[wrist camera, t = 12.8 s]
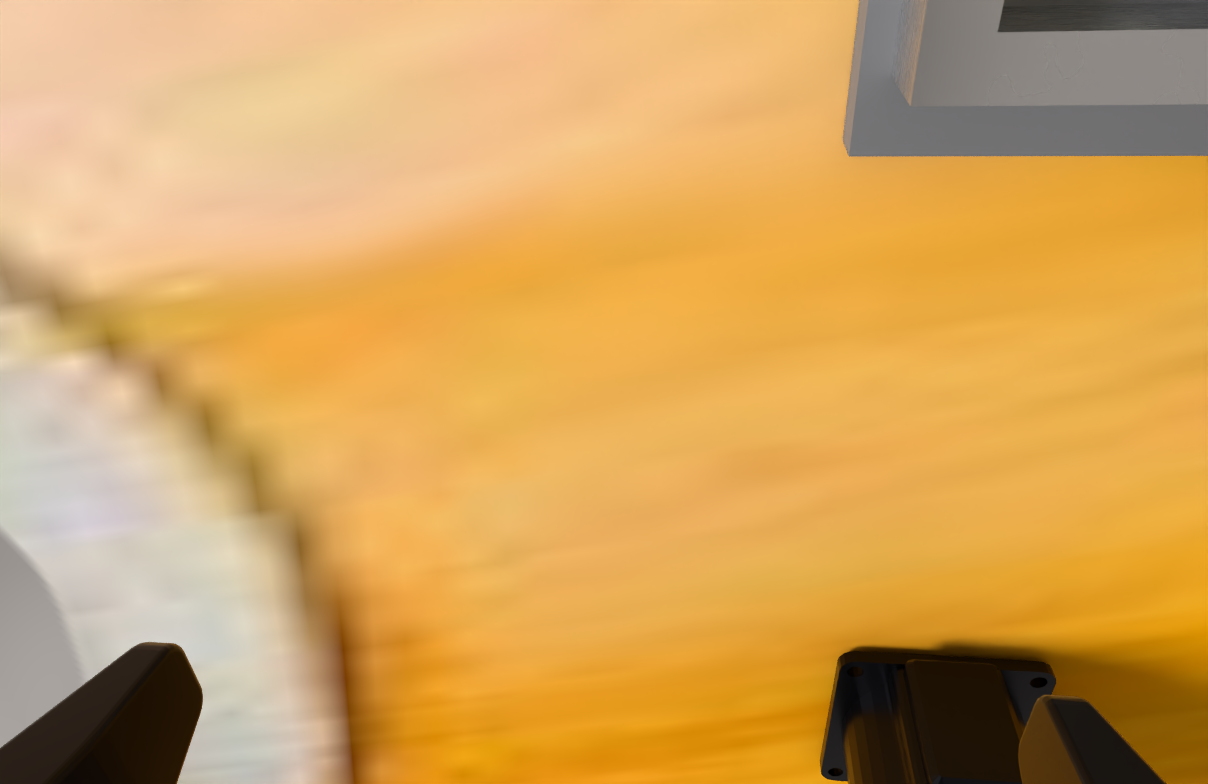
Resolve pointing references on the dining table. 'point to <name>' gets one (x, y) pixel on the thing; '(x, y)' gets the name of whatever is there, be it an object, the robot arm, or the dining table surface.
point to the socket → (1029, 78)
